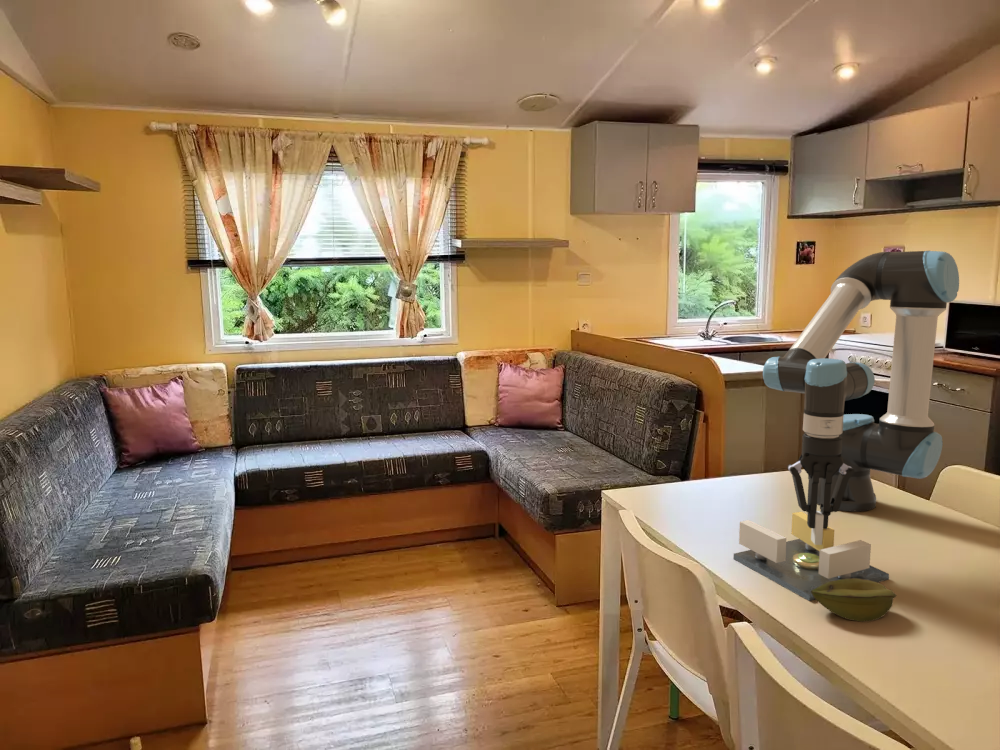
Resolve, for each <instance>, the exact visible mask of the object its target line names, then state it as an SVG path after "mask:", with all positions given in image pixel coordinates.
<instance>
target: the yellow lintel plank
mask: <svg viewBox="0 0 1000 750" xmlns="http://www.w3.org/2000/svg"><path fill="white" fill-rule="evenodd" d="M791 513H792V515H791V533H790V534H791V535H792V536H794V537H796V539H800V540H802V541H804V542H805V543H806V545H805V548H806V549H808V550H818V551H820V550H821V549H825V548H829V547H834V546H835V544H834V543H835V529H834V528H832V527H831V526H828V527H827V529H824V528H823V538H822V545H815V544H814V543H813V542H812V540H811V529H812V528H809V526H808V524H807V516H808V513H807V514H806V513H805V512H804V511H797V512H791Z"/></svg>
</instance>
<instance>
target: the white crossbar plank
mask: <svg viewBox="0 0 1000 750" xmlns="http://www.w3.org/2000/svg"><path fill="white" fill-rule="evenodd" d="M738 532H739V538H738V544H739V545H741V546H743V547H745V548H747V549H748V550H752V551H754V552H756V553H755V557H756V558H757V559H761V560H765V559H767V558H768V559H770V560H772V561H774V562H775V563H778V562H783V561H785V559H786V542H787V537H785V536H783V535H781V534H779V533H777V532H775V531H773V530H771V529H769V528H767V527H764V526H762V525H760V524H758V523H756V522H754V521H752V520H749V519H747V520H743V521H739V531H738Z"/></svg>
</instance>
